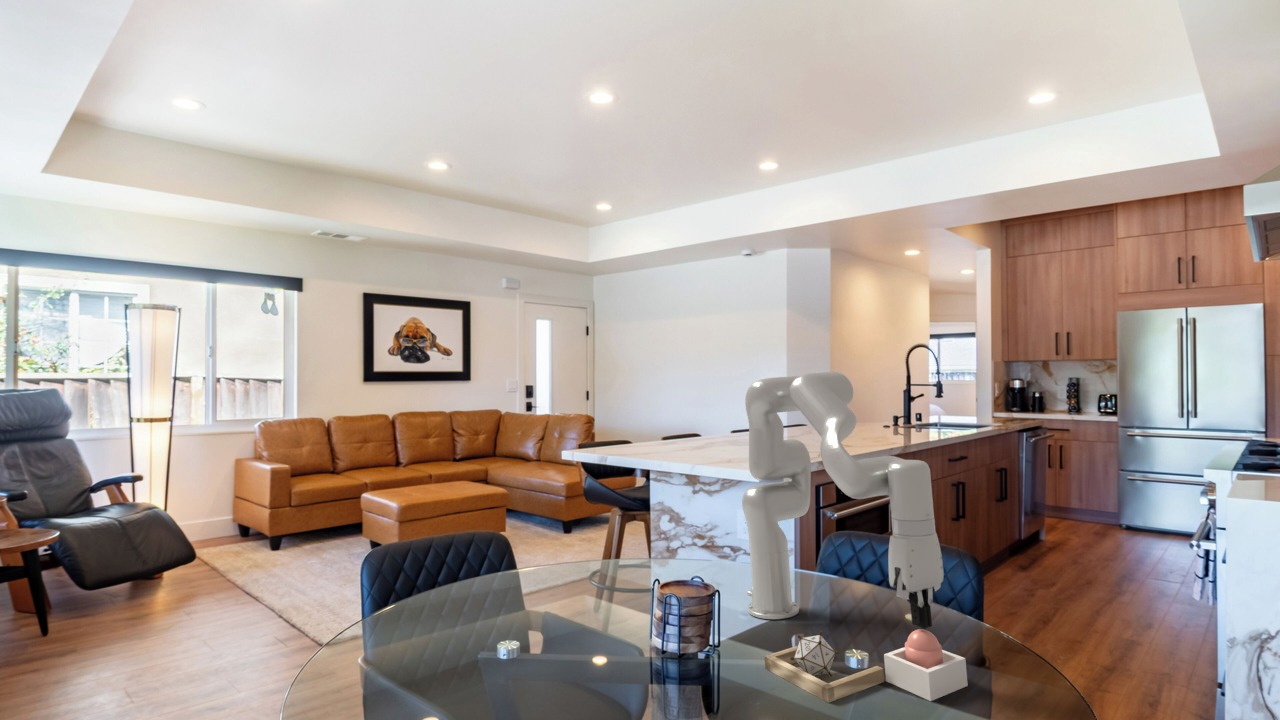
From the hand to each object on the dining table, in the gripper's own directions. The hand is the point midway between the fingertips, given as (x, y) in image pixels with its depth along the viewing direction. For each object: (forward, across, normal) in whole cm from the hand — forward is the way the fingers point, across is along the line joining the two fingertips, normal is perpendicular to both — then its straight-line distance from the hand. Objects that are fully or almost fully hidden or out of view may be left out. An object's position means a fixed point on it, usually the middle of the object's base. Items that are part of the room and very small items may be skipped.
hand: (922, 625), depth 126 cm
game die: (+11, +14, -15) cm, 23 cm away
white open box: (+11, 0, 0) cm, 11 cm away
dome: (+7, 0, 0) cm, 7 cm away
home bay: (+11, +12, -14) cm, 22 cm away
